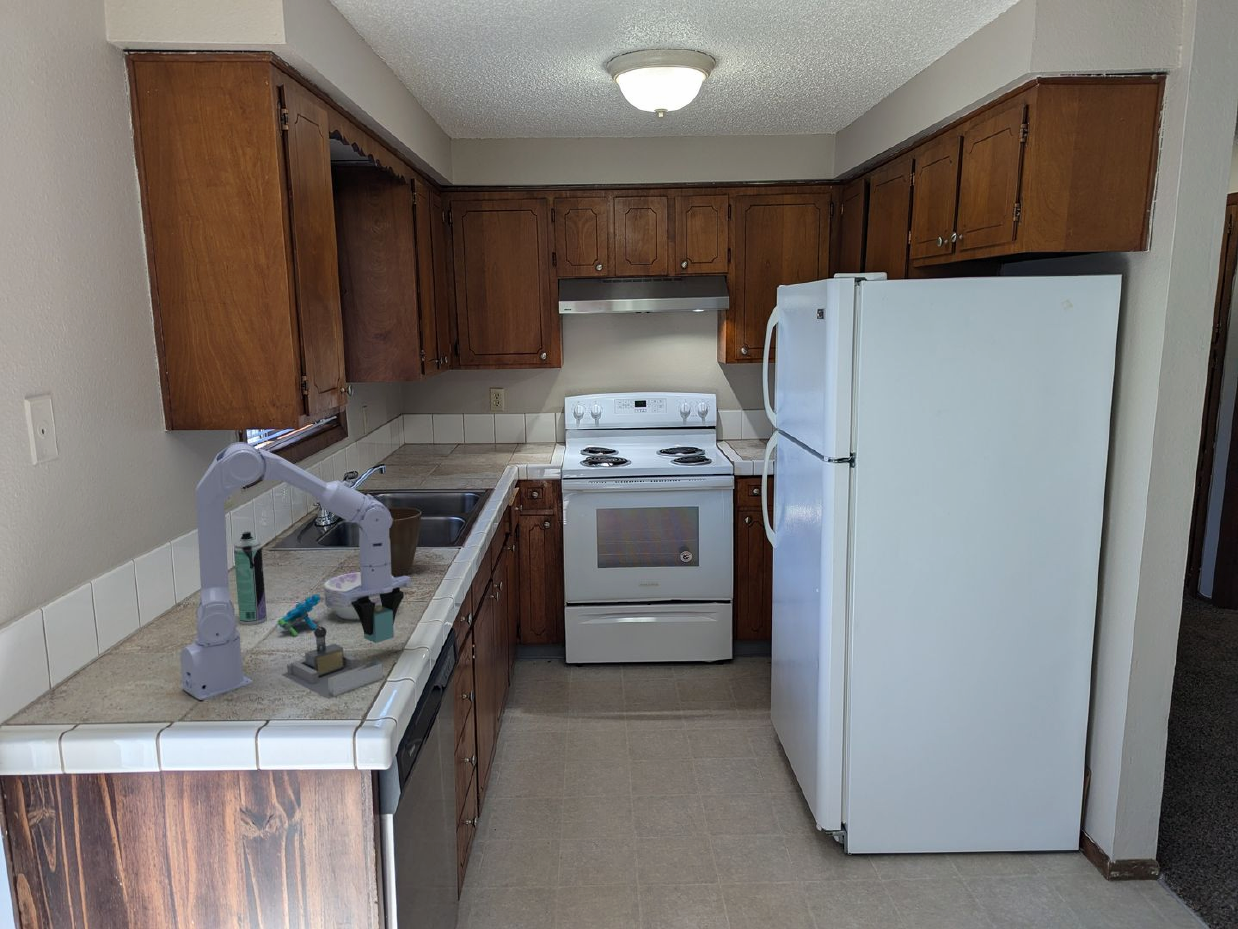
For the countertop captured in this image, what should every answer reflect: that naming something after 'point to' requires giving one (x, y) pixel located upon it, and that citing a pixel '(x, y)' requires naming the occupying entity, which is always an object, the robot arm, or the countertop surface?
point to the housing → (381, 625)
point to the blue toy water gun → (300, 614)
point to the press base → (335, 676)
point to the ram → (324, 655)
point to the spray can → (250, 580)
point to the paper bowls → (341, 585)
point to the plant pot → (403, 539)
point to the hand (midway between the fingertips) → (378, 630)
